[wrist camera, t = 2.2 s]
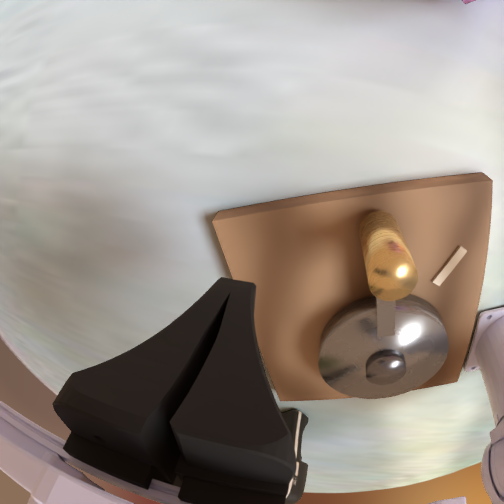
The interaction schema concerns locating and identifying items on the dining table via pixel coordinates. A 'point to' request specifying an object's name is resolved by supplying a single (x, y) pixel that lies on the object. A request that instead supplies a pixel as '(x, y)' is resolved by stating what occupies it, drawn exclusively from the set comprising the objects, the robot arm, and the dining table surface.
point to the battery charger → (296, 427)
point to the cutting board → (355, 267)
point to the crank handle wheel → (383, 323)
